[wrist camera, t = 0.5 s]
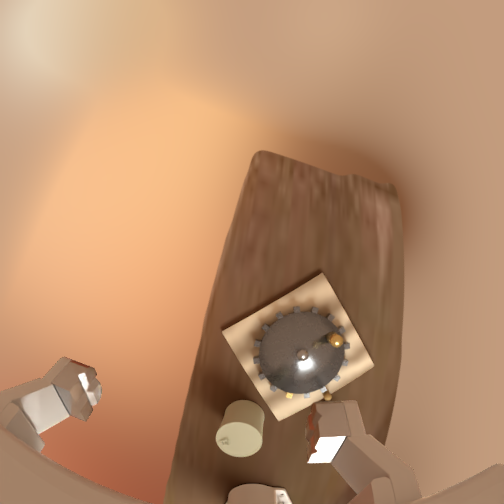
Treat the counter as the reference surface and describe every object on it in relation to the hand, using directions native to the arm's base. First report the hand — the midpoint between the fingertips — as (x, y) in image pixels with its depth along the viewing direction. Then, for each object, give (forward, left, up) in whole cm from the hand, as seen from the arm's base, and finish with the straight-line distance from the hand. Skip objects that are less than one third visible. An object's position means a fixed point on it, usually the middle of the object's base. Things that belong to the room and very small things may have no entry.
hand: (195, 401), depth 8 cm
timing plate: (-13, -3, -50) cm, 52 cm away
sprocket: (-13, -3, -49) cm, 51 cm away
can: (-21, +16, -50) cm, 57 cm away
